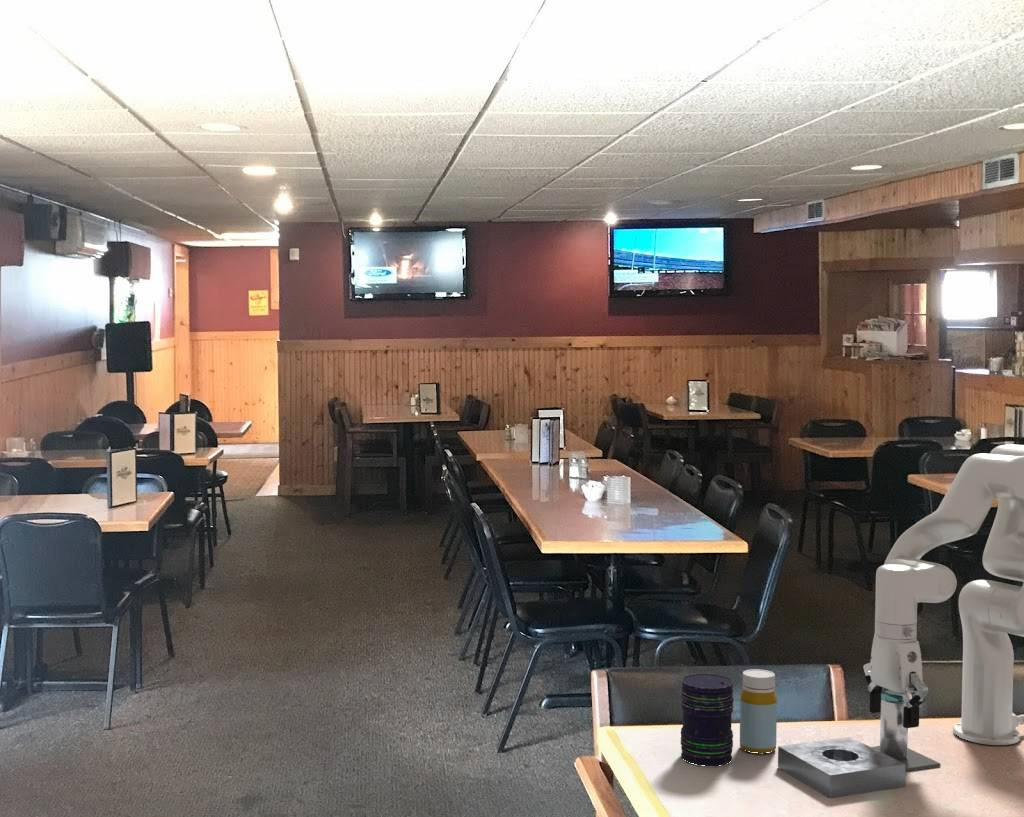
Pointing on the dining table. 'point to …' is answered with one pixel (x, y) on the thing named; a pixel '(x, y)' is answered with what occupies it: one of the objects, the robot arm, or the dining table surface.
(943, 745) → the dining table surface
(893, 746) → the plug
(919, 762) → the mat
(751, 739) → the bottle
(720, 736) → the storage jar
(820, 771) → the housing
